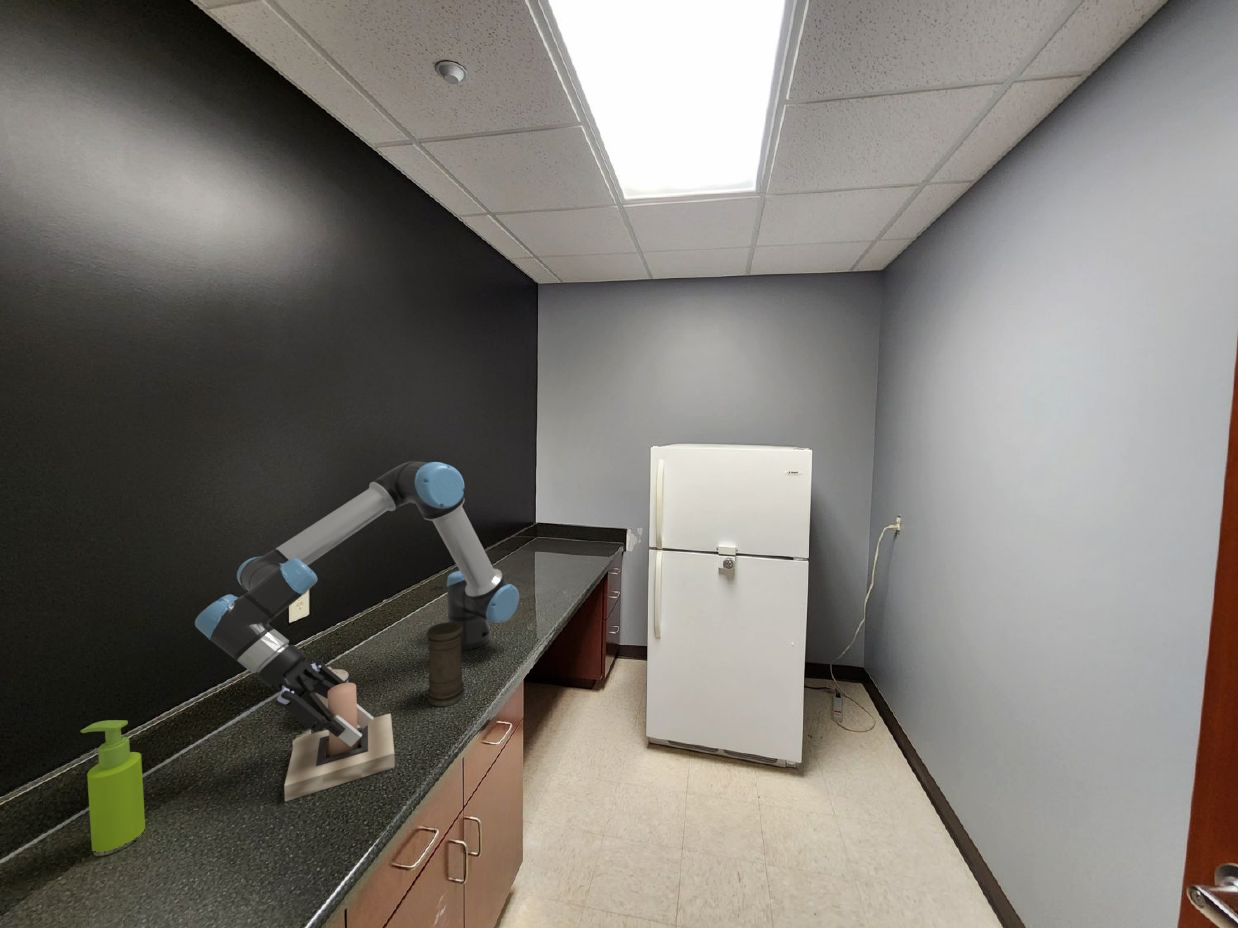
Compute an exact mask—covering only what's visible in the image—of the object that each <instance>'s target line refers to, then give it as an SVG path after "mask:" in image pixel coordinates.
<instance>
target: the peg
mask: <svg viewBox="0 0 1238 928" xmlns="http://www.w3.org/2000/svg"><path fill="white" fill-rule="evenodd" d="M357 703H358V702H357V685H356V683H354V682H348V683H343V684H339V685H336V686H334V687H332V688H331V689H330V690H329V691H328V710H329V711H330V712H331V713H332V715H333V716H334V717H335V716H336V715H339V716H340V717H341V718H343V719H344V720H345V721H346V722H348V723H349V724H350V725H351V726H352V727H354V728H355V729H356V730H357ZM356 749H359V746H358V740H357V741H356V742H355V743H354V744H353V745H352V746H351V747H350V746H349V745H348V744H347V743H345V742H344V741H343V740H342V739H340V738H339V737H336V736H335V735H333V734H332V733H331V732H330V731H329V757H331V756H334V755H338V754H342V753H345V752H349V751H352V750H356Z"/></svg>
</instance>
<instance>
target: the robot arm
mask: <svg viewBox="0 0 1238 928" xmlns="http://www.w3.org/2000/svg"><path fill="white" fill-rule="evenodd" d="M464 481H465V480H464V479H463V476H462V474H461V473H460V472H459V470H458V469H456V467H453V466H452V465H450V464H446V463H444V462H440V461H439V462H437V461H433V462H425V461H419V460H418V461H416V460H413V461H408V462H407V461H406V462H404V463H402V464H399V465H398V466H396V467H393V468H392V469H391V470H389V471H387V472H386V473H384V474H383V475H381V476H379V477H377V478H376V479H374V480H373V481H372V482H370V483H369V487H368V488H367V489H366V490H364V491H362V493H360V494H358V495H357V496H355V497H353V498H352V499H351V500H349V501H347V502H346V503H344V504H343V505H342V506H340V507H338V508H337V509H335V510H334V511H332V512H330V513H329V514H327V515H326V516H323V518H321V519H320V520H318V521H316V522H315V523H313V524H312V525H310V526H309V527H307V528H305V529H304V530H303V531H301V532H299V533H298V534H296V535H294V536H293V537H292V538H289V539H287V541H285V542H284V543H282V544H281V545H279V546H278V547H276V548H274V549H273V550H270V551H269V552H267V553H265V554H264V555H262V556H253V557H251V558H248V559H246V561H244V562H243V563H242V564H240V566H239V568H238V570H237V573H236V579H237V581H238V583H239V584H240V586H241V587H242V588H243V589H244V590H245V591H247V592H246V593H244V594H243V595H241V596H239V597H238V596H235V595H233V594H226V595H224V596H221V597H220V598H219V599H217V600H215V601H214V602H212V603H210V604H209V605H208V606H207V607H206V608H204V610H202V611H201V612H200V613H199V614H198V615H197V617H196V618H195V621H194V626H195V628H197V629H198V630H199V631H200V632H201V633H202V634H203V635H204V636H206V638H207V639H208V640H210V642H212V644H213V643H214V644H215V645H216V646H217V647H218V648H220V649H221V650H223V651H224V652H225V653H226V654H227V655H229V656H230V657H231V658H233V659H234V660H235V661H236V662H238V663H239V664H240V665H241V666H242V667H244V668H246V670H247V671H250V672H251V674H256V673H257V674H256V676H257V679H259V680H260V681H261V682H262V683H263V684H265V685H266V686H267V687H268V688H272V687H273V686H275V687H277V689H278V691H279V695H278V696H277V698H276V699H274V701H273V703H274V704H275V705H277V707H278V706H279V707H281V708H283V709H285V710H286V711H287V712H288V713H290V714H291V715H292V716H293V717H295V718H296V719H297V720H298V721H300V723H302V724H304V725H305V726H306V727H307V728H308V729H310V730H311V731H312V732H313V733H317V732H321V731H323V730H324V729H326V730H328V731H330V732H331V733H332V734H333V735H335V736H336V737H339V738H340V739H342V740H343V741H344V742H345V743H347V744H348V745H349V746H350V747H351V746H352V745H353V744H354V743H355V742H356V741H357V740H358V739H359V738H360V737H361V736H362V734H361V733H360V732H359V731H357V730H356V729H355V728H354V727H352V726H351V725H350V724H349V723H348V722H346V721H345V720H344V719H343V718H341V717H340V716H339V715H336V716H335V717H334V716H333V715H332V713H331V712H330V711H329V710H328V709H327V707H326V706H325V705H324V704H323V702H322V701H321V700H320V699H319V698H318V696H317V695H316V694H315V693H317V694H319V695H321V696H323V697H325V698H327V699H328V691H329V690H330V689H331V688H332V687H334V686H336V685H339V684H343V683H346V682H344V681H343V680H342V679H341V678H339V677H338V676H337V675H336V674H335V673H333V672H332V671H331V670H330V669H329V668H327V667H328V666H327V665H326V664H325V663H324V661H323V660H322V659H317V660H316V661H315V662H314V663H309V662H307V661H306V660H304V658H305V653H304V652H303V651H302V650H300V649H299V648H298V647H297V646H296V645H294V644H290V645H289V642H290V640H289V639H288V638H287V637H285V636H284V635H283V634H281V633H280V632H279V631H277V630H276V629H275V628H274V627H272V626H271V625H270V623H271V622H272V621H273V620H275V619H276V617H278V616H279V615H280V614H281V613H283V612H284V611H285V610H286V609H287V608H289V607H290V606H291V605H292V604H294V603H295V602H296V601H297V600H299V598H301V597H302V596H303V595H306V594H307V592H308V591H309V590H310V589H311V588H312V587H313V586H314V585H316V583H317V582H318V577H317V573H315V571H314V570H312V569H311V568H310V567H309V565H311V564H312V563H313V562H315V561H316V560H318V559H319V558H321V557H322V556H323V555H325V554H326V553H328V552H330V550H332V549H334V548H335V547H337V546H338V545H340V544H341V543H343V541H346V539H348V538H349V537H351V536H353V535H354V534H355V533H357V532H359V531H360V530H362V529H363V528H364V527H365V526H367V525H368V524H370V523H372V522H373V521H374V520H375V519H378V517H380V516H381V515H383V514H384V513H386V512H387V511H389V512H393V511H395V510H397V509H398V508H400V507H402V506H405V505H407V504H415V505H416V506H417V508H418V511H419V512H420V514H421V515H422V517H423V519H424V520H427V521H431V522H433V523H432V524H433V525H434V526H435V528H436V530H437V532H438V534H439V536H440V538H441V539H442V541H443V542H444V545H445V546H446V548H447V550H448V552H449V554H450V556H451V557H452V559H453V561H454V563H455V564H456V566H457V567H458V568H457V569H458V570H456V571H454V572H451V573H450V574H449V575H448V576H447V581H446V594H447V595H446V599H447V602H446V603H447V620H446V623H447V622H453V623H458V624H460V625H461V626H462V632H461V651H467V650H472V649H477V648H479V647H482V646H483V645H486V644H487V643H488V642H489V641H490V640H491V637H492V634H491V633H492V631H491V628H490V625H489V622H490V623H496V624H501V623H504V622H507V621H508V620H509V619H510V618H511V617H512V616H513V615H514V613H515V612H516V610H517V608H518V605H519V603H520V602H519V601H520V593H519V590H518V588H517V587H516V586H514V585H513V584H511V583H508V582H507V581H506V579H505V576H504V575H503V572H502V571H501V570H500V569H498V568H494V567H493V564H492V563H491V561H490V559H489V557H488V554H487V553H486V551H485V549H484V547H483V545H482V543H481V542H480V540H479V539H480V538H479V537H478V535H477V533H476V531H475V529H474V527H473V525H472V523H471V521H470V520H469V517H468V516H467V514H466V512H465V511H466V510H465V509H464V508H463V504H464V503H465V501H466V500H465V497H464V490H465V482H464ZM314 692H315V693H314ZM373 718H375V717H374V716H373V715H372V714H370V713H369V712H368V711H366V710H365V709H364V708H363V707H362V706H361V704H359V703H358V702H357V725H359V726H360V727H361V728H362V729H364V728H365V727H366V726H367V725H368V724H369V723H370V722H371V721H372V720H373ZM315 723H316V724H315Z"/></svg>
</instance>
